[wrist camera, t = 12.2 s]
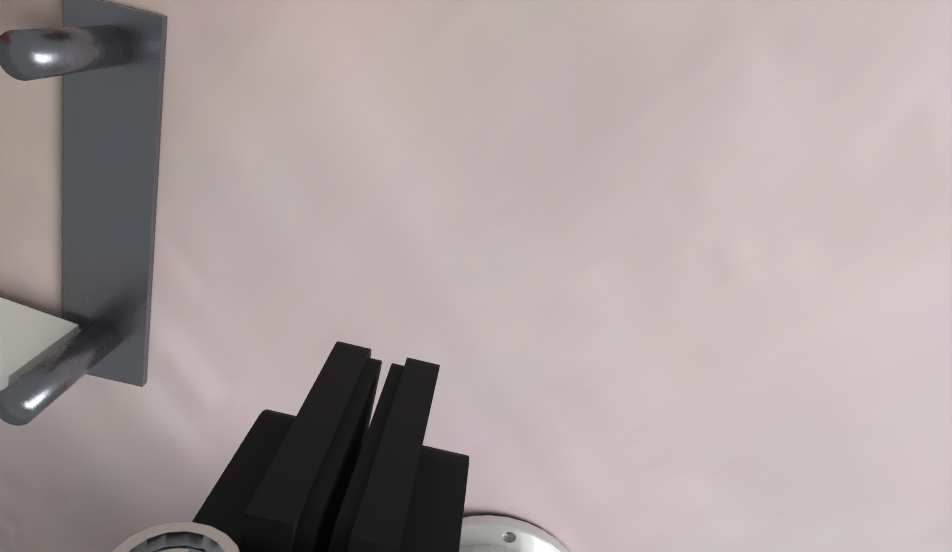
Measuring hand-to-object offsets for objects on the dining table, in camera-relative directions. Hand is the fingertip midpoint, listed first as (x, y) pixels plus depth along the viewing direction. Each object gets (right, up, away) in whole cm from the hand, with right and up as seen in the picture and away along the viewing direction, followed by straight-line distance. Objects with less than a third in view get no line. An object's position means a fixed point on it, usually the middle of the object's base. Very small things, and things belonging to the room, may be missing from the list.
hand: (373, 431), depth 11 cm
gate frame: (-25, +8, +28) cm, 38 cm away
